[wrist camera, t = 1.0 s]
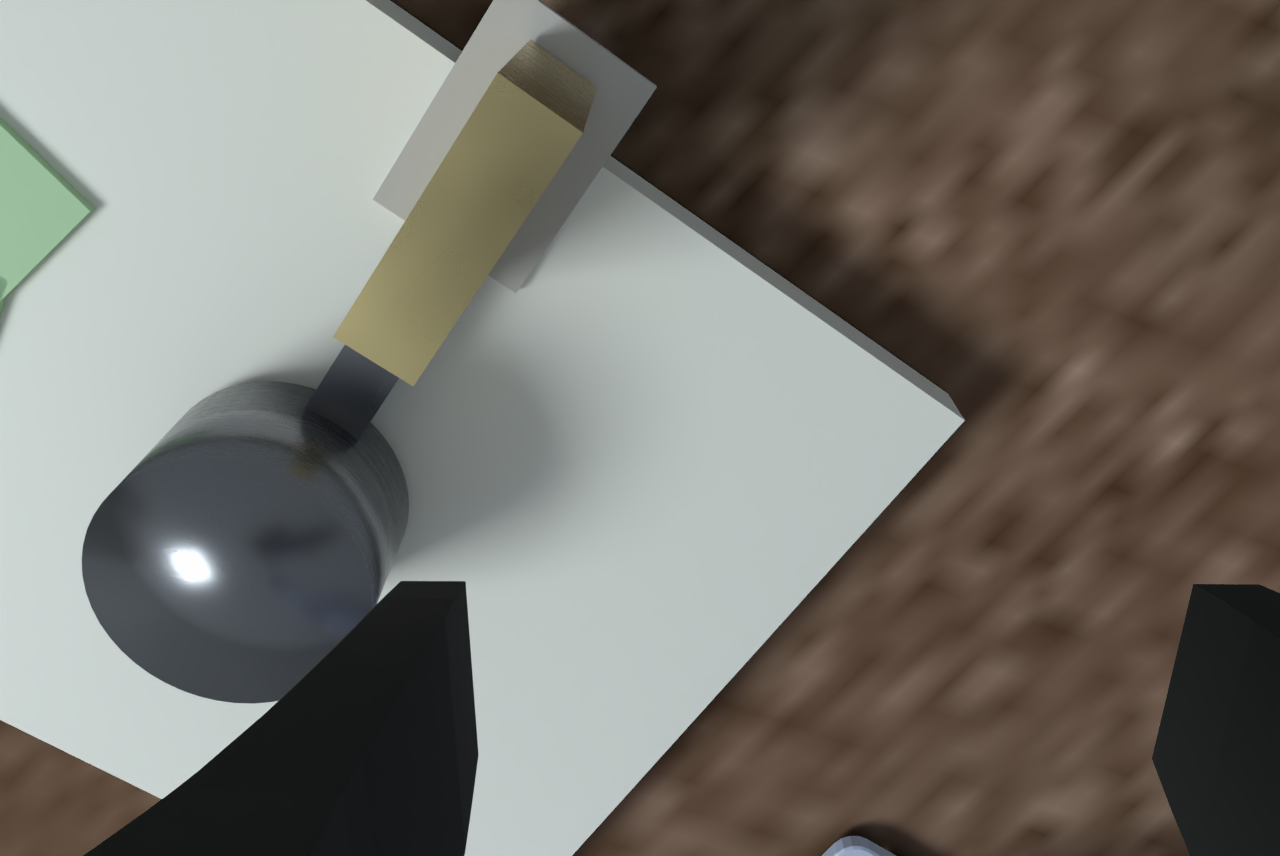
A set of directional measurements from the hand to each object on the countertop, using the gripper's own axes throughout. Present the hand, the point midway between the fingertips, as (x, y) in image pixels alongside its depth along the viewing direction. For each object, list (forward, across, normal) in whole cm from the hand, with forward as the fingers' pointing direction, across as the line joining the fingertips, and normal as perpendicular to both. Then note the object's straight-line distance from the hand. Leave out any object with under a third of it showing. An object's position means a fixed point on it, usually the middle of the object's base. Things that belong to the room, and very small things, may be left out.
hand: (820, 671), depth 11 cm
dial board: (+10, +8, +3) cm, 13 cm away
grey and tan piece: (+9, +6, 0) cm, 11 cm away
